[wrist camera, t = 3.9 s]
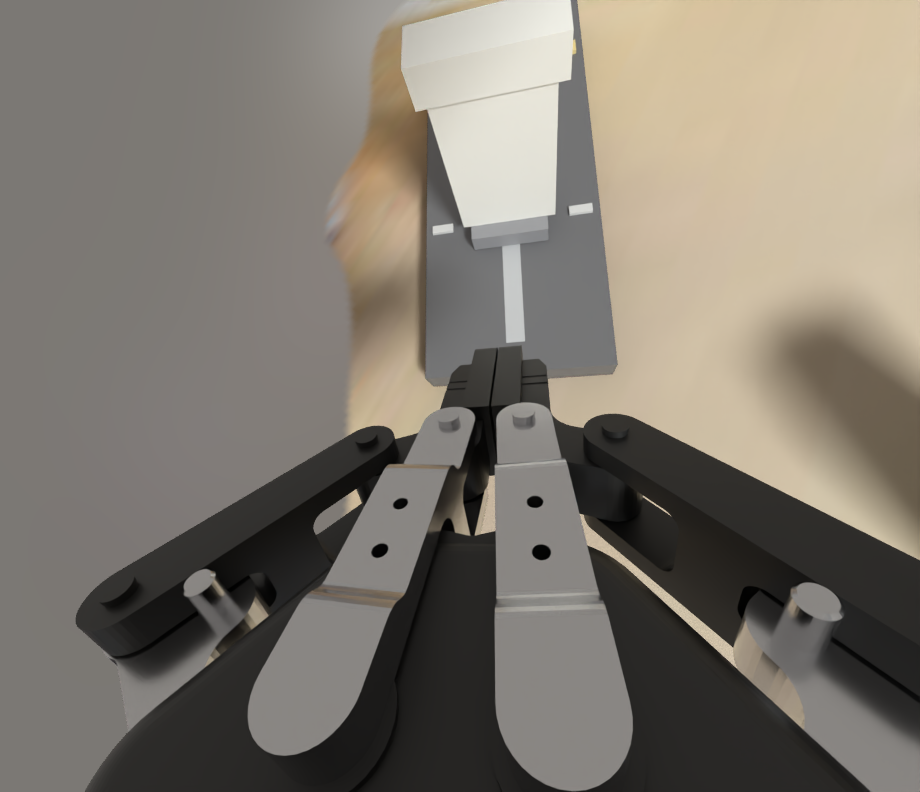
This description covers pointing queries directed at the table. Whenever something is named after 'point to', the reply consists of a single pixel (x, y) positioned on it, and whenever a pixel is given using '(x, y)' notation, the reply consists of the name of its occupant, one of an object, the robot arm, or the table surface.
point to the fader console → (525, 264)
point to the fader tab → (495, 109)
